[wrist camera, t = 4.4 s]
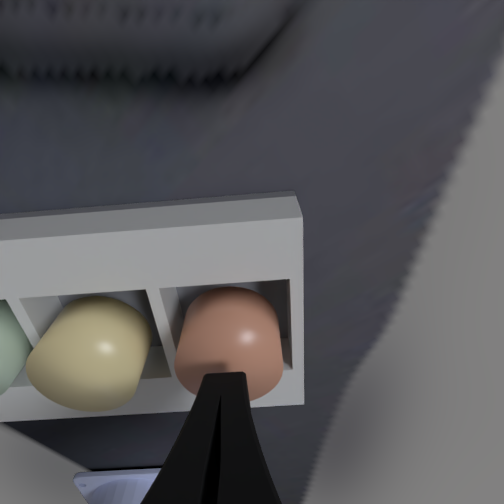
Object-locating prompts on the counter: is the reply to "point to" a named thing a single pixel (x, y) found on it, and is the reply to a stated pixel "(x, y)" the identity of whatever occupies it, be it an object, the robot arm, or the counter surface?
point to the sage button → (11, 346)
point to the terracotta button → (230, 340)
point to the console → (154, 282)
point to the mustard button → (91, 355)
